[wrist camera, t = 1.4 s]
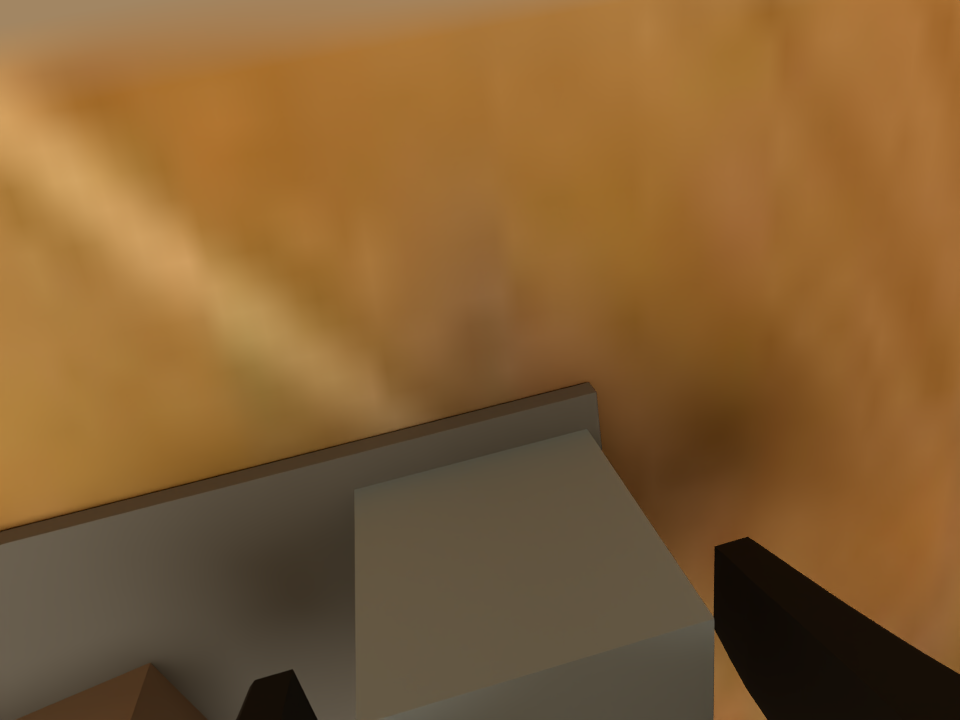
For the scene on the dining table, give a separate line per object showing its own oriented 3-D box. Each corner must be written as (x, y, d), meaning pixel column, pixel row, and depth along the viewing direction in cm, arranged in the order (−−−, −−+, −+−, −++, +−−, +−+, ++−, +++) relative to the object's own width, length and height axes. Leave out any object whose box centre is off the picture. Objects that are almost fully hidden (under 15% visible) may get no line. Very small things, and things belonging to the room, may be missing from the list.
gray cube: (605, 593, 13) (712, 811, 9) (409, 650, 13) (434, 905, 9) (586, 428, 11) (714, 619, 7) (354, 489, 11) (355, 725, 7)
